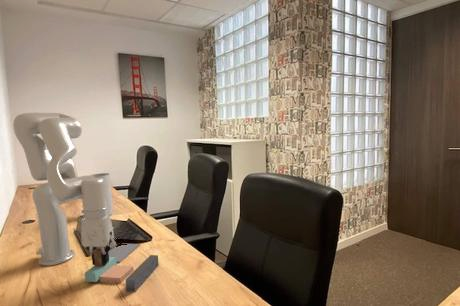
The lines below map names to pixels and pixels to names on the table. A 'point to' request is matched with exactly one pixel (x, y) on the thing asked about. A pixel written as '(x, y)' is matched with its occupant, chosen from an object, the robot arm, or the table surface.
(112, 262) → the push block
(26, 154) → the robot arm
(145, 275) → the bar
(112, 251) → the mat
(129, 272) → the terracotta tile
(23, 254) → the table surface
